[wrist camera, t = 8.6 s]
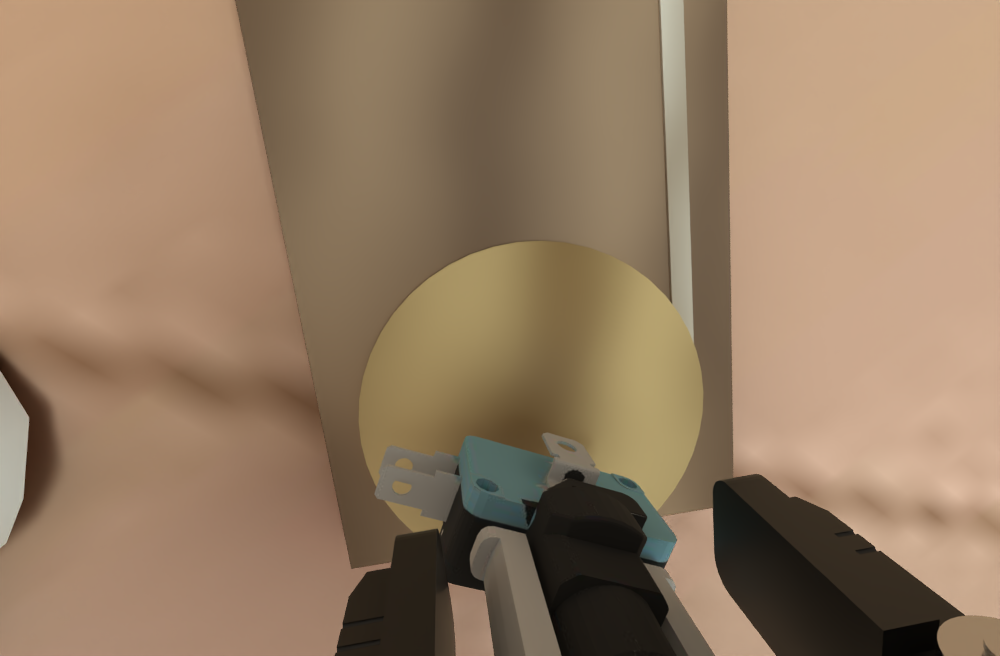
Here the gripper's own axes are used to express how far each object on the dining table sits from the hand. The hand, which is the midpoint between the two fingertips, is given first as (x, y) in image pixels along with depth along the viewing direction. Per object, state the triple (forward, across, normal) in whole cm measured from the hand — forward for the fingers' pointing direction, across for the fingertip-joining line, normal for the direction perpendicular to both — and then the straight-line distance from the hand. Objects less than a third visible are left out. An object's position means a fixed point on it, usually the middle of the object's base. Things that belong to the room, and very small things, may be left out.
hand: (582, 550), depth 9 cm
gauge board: (+7, 0, -6) cm, 10 cm away
